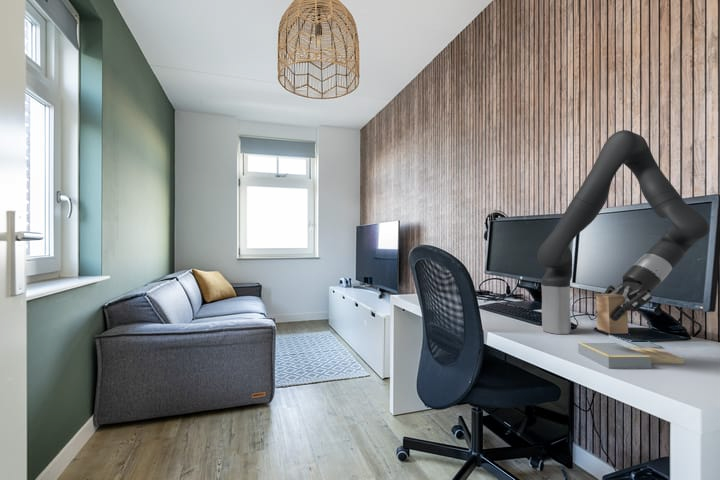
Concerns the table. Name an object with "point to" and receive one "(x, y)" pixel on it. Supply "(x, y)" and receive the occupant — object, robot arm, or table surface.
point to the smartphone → (638, 343)
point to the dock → (614, 355)
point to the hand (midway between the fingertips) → (605, 316)
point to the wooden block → (605, 308)
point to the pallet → (659, 355)
